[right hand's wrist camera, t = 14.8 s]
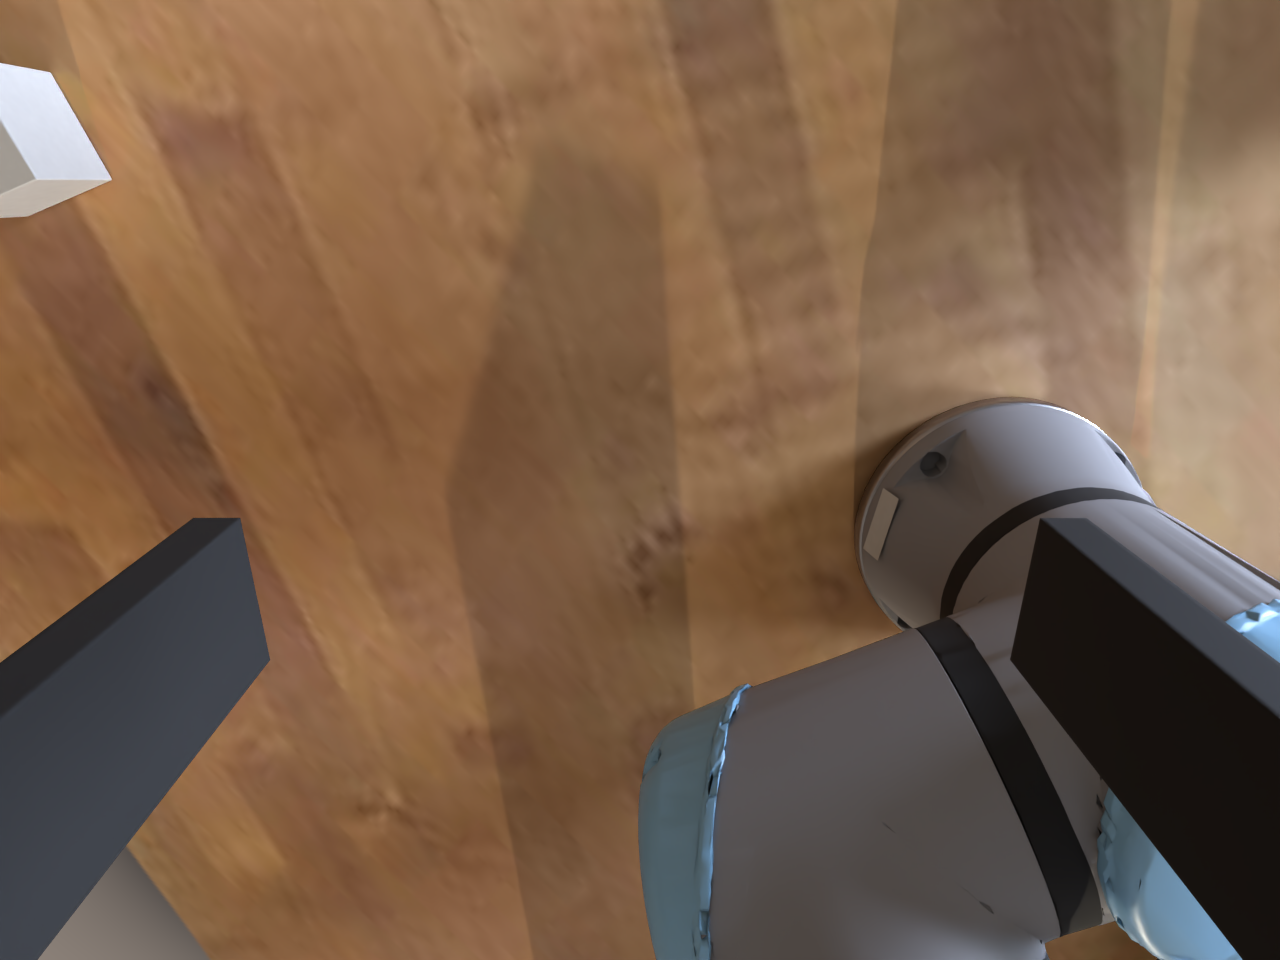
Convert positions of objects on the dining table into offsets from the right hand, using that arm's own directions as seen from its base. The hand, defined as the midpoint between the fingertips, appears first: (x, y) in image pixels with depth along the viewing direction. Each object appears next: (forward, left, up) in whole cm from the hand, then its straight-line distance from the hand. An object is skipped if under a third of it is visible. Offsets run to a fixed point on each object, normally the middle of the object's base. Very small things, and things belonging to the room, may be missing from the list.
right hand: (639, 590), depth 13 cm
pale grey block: (+29, -8, -29) cm, 42 cm away
